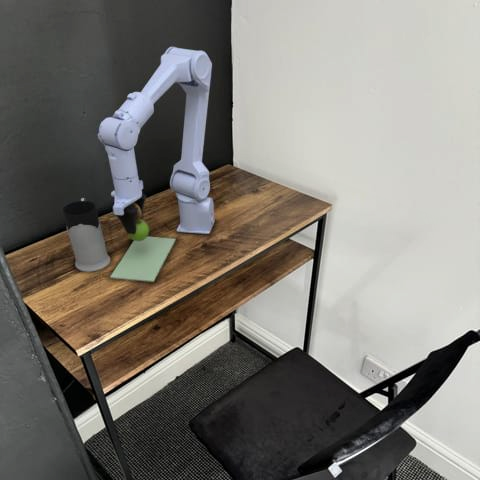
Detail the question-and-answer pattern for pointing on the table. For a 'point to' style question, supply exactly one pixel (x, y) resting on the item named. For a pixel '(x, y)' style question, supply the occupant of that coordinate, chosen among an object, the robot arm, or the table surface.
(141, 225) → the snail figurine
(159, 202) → the table surface
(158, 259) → the desk pad
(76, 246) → the glass holder
